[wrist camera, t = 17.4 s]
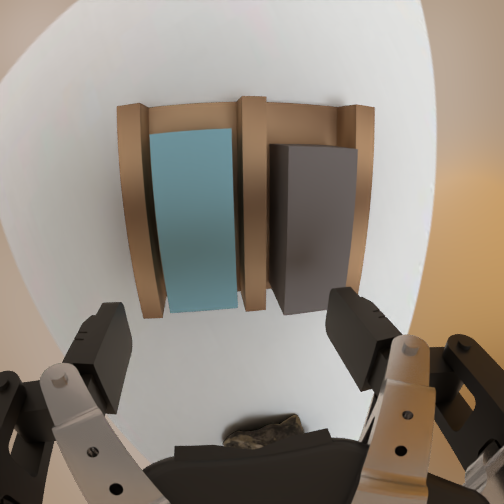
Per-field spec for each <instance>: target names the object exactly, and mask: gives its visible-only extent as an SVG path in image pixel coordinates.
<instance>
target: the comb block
mask: <svg viewBox="0 0 504 504" xmlns="http://www.w3.org/2000/svg"><path fill="white" fill-rule="evenodd" d="M374 122H375V107H369V106H363V105H349V106H342V107H330V106H320V105H309V104H294V103H274V102H266V97H262V96H242V97H241V98H240V99H239V100H238V101H237V102H216V103H195V104H181V105H169V106H159V107H150V108H148V107H146V106H144V105H143V104H141V103H136V104H129V105H123V106H117V133H118V152H119V166H120V178H121V188H122V198H123V206H124V214H125V222H126V229H127V236H128V242H129V248H130V254H131V260H132V266H133V271H134V276H135V282H136V286H137V291H138V296H139V301H140V305H141V310H142V314H143V318H144V319H146V318H163V313H164V307H165V301H166V297H167V291H166V285H165V279H164V273H163V266H162V259H161V252H160V245H159V237H158V229H157V221H156V212H155V202H154V192H153V181H152V168H151V153H150V134H158V133H168V132H179V131H191V130H206V129H228V128H231V129H232V168H233V200H234V229H235V254H236V278H237V291H241V295H242V299H243V303H244V306H245V310H246V312H248V311H258V310H266V289H270V288H271V286H270V283H269V232H270V144H315V145H331V146H338V147H346V148H353V149H358V162H357V182H356V197H355V210H354V221H353V231H352V241H351V250H350V258H349V266H348V274H347V281H346V287H351V288H352V289H353V290H354V291H355V292H356V293H357V294H358V291H359V285H360V279H361V273H362V266H363V260H364V253H365V245H366V237H367V229H368V220H369V211H370V200H371V188H372V174H373V156H374Z"/></svg>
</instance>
